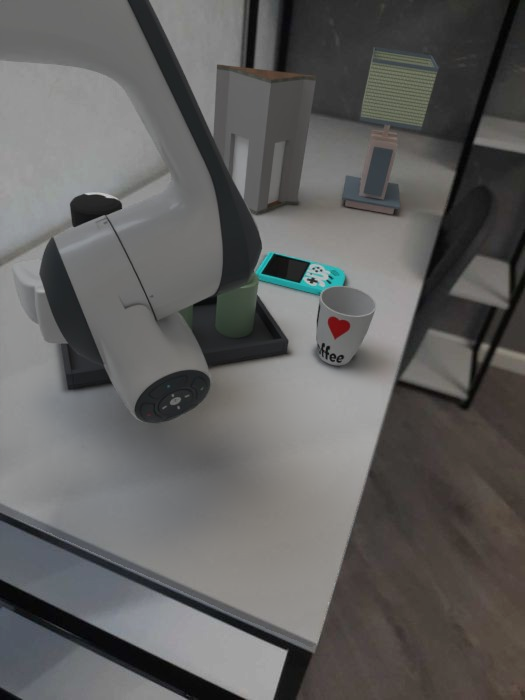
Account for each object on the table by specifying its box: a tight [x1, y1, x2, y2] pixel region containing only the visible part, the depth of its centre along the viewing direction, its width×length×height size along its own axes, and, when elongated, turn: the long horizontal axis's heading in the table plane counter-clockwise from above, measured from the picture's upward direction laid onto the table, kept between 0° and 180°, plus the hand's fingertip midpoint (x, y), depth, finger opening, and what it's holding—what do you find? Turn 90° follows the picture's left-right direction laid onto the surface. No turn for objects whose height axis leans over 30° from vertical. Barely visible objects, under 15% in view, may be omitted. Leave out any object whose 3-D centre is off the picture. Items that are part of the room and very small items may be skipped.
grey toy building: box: [212, 63, 317, 215], centre depth 114 cm, size 21×10×28 cm, turn 92°
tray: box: [60, 294, 290, 390], centre depth 78 cm, size 32×16×2 cm, turn 112°
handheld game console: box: [254, 251, 346, 296], centre depth 98 cm, size 10×16×1 cm, turn 73°
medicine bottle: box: [69, 191, 123, 228], centre depth 66 cm, size 7×7×12 cm
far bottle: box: [215, 270, 260, 338], centre depth 78 cm, size 6×6×13 cm
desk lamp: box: [341, 46, 439, 215], centre depth 124 cm, size 18×14×33 cm
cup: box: [315, 285, 377, 367], centre depth 77 cm, size 8×8×10 cm
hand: (96, 246), depth 65 cm, fingers closed on medicine bottle, 8 cm apart
